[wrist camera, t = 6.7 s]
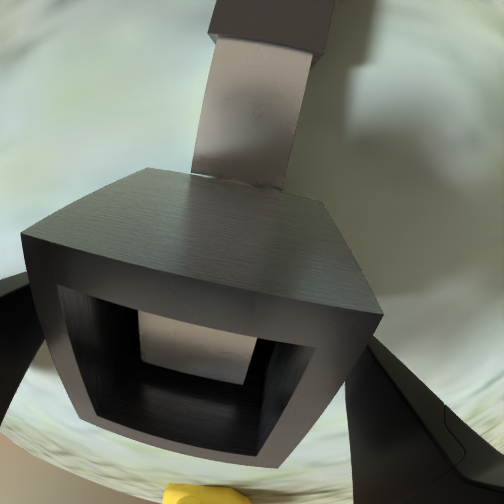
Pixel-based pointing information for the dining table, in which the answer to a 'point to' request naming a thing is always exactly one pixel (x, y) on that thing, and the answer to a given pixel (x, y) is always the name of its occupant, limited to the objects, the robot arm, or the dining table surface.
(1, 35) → the dining table surface
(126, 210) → the open grey box
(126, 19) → the dining table surface
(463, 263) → the dining table surface
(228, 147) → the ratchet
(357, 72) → the dining table surface
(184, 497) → the teapot
